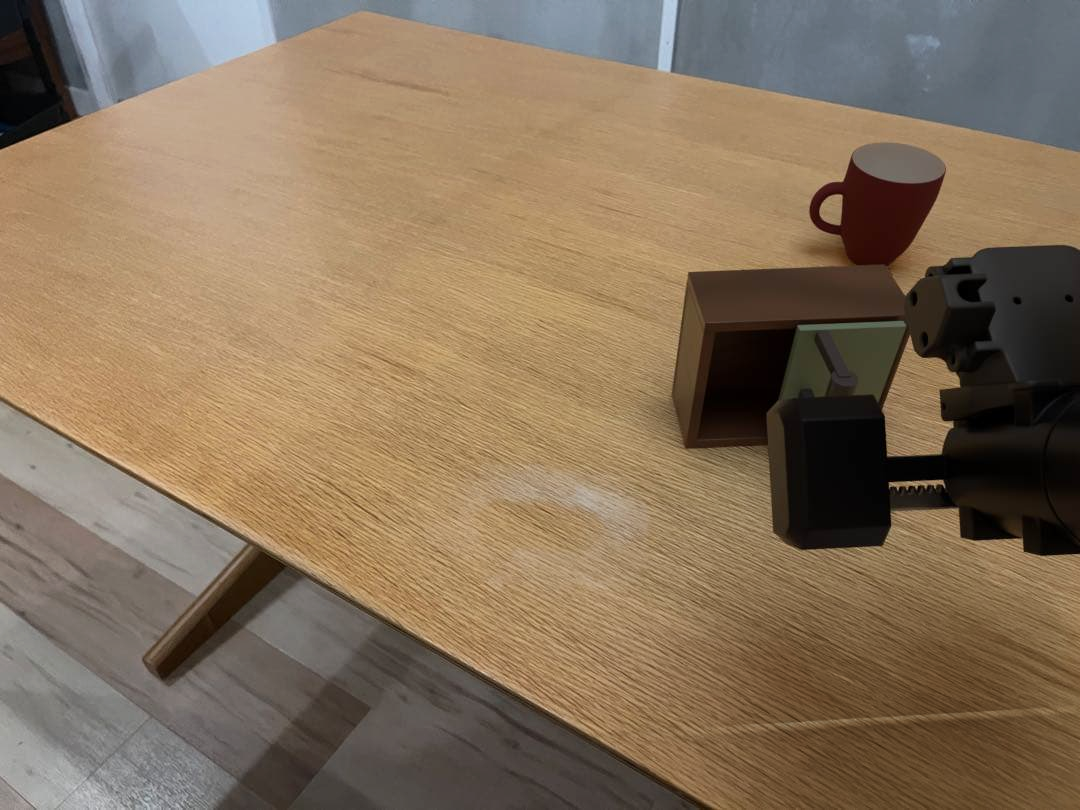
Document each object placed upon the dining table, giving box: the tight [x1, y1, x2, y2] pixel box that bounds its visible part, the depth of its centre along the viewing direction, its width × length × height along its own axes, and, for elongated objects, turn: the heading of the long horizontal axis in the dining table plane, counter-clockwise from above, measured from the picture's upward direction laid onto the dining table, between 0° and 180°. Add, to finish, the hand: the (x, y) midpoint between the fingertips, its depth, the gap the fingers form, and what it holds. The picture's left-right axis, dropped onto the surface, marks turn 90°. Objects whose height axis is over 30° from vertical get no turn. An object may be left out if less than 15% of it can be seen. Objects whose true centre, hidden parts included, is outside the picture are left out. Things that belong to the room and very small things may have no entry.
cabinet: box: [671, 264, 911, 449], centre depth 59 cm, size 6×14×12 cm, turn 93°
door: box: [779, 321, 906, 402], centre depth 55 cm, size 6×7×11 cm
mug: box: [808, 142, 947, 268], centre depth 76 cm, size 11×8×10 cm
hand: (903, 458), depth 43 cm, fingers open, 9 cm apart
